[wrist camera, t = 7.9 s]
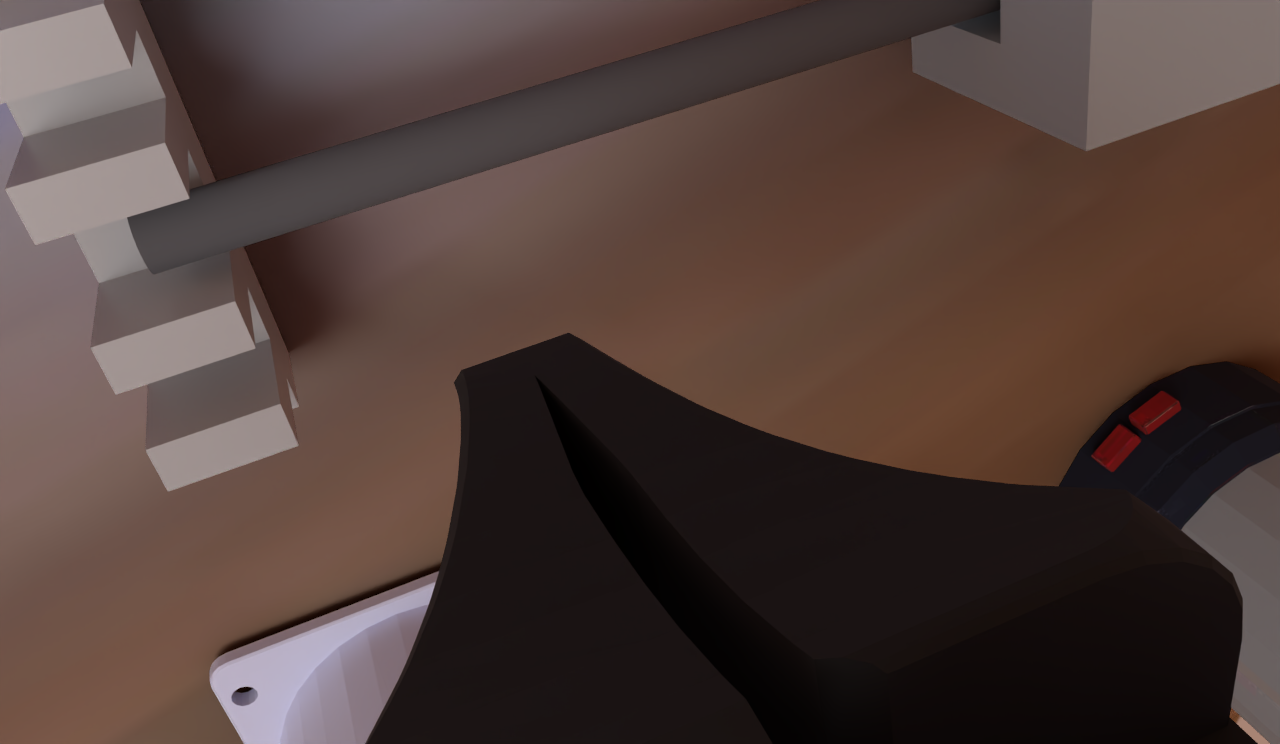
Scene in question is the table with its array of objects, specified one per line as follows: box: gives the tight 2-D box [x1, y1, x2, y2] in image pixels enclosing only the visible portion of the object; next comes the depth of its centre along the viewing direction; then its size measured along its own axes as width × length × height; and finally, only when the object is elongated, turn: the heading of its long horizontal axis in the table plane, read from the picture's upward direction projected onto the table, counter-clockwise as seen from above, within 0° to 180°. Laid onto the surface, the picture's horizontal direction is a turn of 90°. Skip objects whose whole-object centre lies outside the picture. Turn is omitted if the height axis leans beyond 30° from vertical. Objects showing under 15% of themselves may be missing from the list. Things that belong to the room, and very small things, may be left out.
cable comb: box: [0, 0, 299, 491], centre depth 17 cm, size 2×8×4 cm, turn 11°
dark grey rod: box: [127, 0, 1000, 274], centre depth 18 cm, size 21×4×4 cm, turn 100°
